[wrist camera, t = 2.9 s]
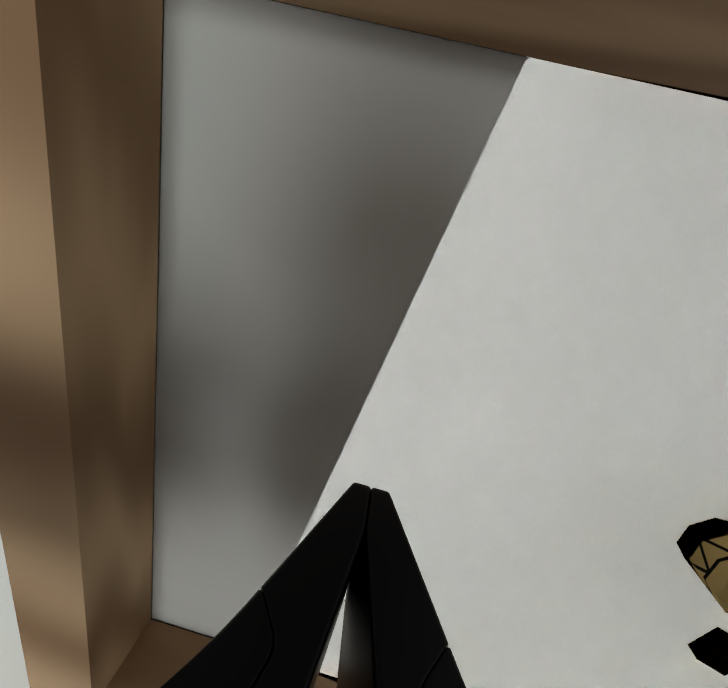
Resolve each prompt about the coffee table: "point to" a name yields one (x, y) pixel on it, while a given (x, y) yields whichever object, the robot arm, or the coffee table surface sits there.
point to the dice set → (710, 583)
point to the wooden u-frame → (139, 286)
